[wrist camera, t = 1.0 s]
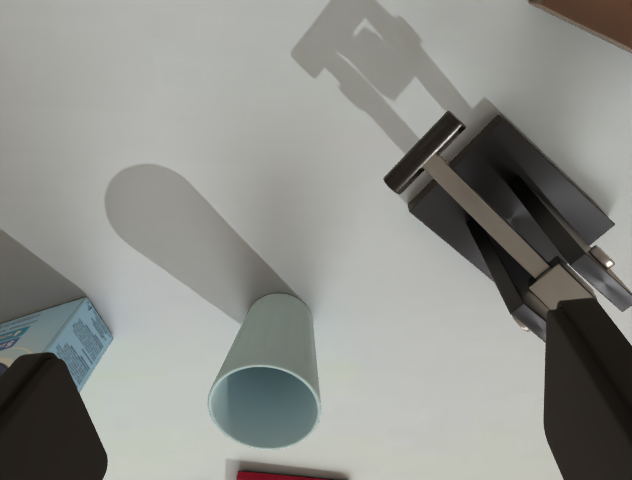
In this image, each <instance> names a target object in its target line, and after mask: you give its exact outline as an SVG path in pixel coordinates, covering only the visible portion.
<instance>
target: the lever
mask: <svg viewBox="0 0 632 480" xmlns="http://www.w3.org/2000/svg"><path fill="white" fill-rule="evenodd" d="M465 128H466V126H465V125H464V124H463V123H462V122H461V121H460V120H459V119H458V118H457V117H456V116H455V115H454V114H453V113H452V112H450V111H447V112H446V113H445V114H444V115H443V116H442V117H441V118H440V119H439V120H438V121H437V123H436V124H435V125H434V126H433V127H432V128H431V129H430V130H429V131H428V132H427V133H426V134H425V135H424V136H423V137H422V138H421V139H420V140H419V141H418V142H417V143H416V145H415V146H414V147H413V148H412V149H411V150H410V151H409V152H408V153H407V154H406V155H405V156H404V157H403V158H402V159H401V160H400V161H399V162H398V163H397V164H396V165H395V167H394V168H393V169H392V170H391V171H390V172H389V173H388V174H387V175H386V176H385V177H384V182H385V183H386V184H387V186H388V187H389V188H390V189H391V190H393V191H394V192H395V193H397V194H401V193H402V192H403V191H404V190H405V189H406V188H407V187H408V186H409V185H410V184H411V183H412V182H413V181H414V180H415V179H416V178H417V177H418V176H419V175H420V174H421V173H422V172H423V171H424V170H425V171H426V172H427V173H429V174H430V175H431V176H432V177H433V178H434V179H435V180H436V181H437V182H438V183H439V184H440V185H441V186H442V187H443V188H444V189H445V190H446V191H447V192H448V193H449V194H450V195H451V196H452V197H453V198H454V199H455V200H456V201H457V202H458V203H459V204H460V205H461V206H462V207H463V208H464V209H465V210H466V211H467V212H468V213H469V214H470V215H471V216H472V217H473V218H474V219H475V220H476V221H477V222H478V223H479V224H480V225H481V226H482V227H483V228H484V229H485V230H486V231H487V232H488V233H489V234H490V235H491V236H492V237H493V238H494V239H495V240H496V241H497V242H498V243H499V244H500V245H501V246H502V247H503V248H504V249H505V250H506V251H507V252H508V253H509V254H510V255H511V256H512V257H513V258H514V259H515V260H516V261H517V262H518V263H519V264H520V265H521V266H522V267H523V268H524V269H525V270H526V271H527V272H528V273H529V274H530V275H531V277H530V278H529V279H528V289H529V290H530V291H531V292H532V293H533V294H534V295H535V296H536V297H537V298H538V299H539V300H540V301H541V302H542V303H543V304H544V305H545V306H546V307H547V308H548V309H549V310H553V309H556V308H557V304H558V302H559V301H561V300H571V299H581V298H595V299H596V300H597V298H596V296H595V294H594V292H593V289H592V288H591V287H590V286H589V285H588V284H587V283H586V282H585V281H584V280H582V279H581V278H580V277H579V276H578V275H577V274H576V273H575V272H574V271H573V270H572V269H571V268H570V267H569V266H568V265H567V264H566V263H565V262H564V261H563V260H562V259H561V258H560V257H559V256H556V257H554V258H553V259H552V260H551V261H550V262H548V261H547V260H546V259H545V258H544V257H543V256H542V255H541V254H540V253H539V252H538V251H537V250H536V249H535V248H534V247H533V246H532V245H531V244H530V243H529V242H528V241H527V240H526V239H525V238H524V237H523V236H522V235H521V234H520V233H519V232H518V231H517V230H516V229H515V228H514V227H512V226H511V225H510V224H509V223H508V222H507V221H506V220H505V219H504V218H503V217H502V216H501V215H500V214H499V213H498V212H497V211H496V210H495V209H494V208H493V207H492V206H491V205H490V204H489V203H488V202H487V201H486V200H485V199H484V198H483V197H482V196H481V195H480V194H479V193H478V192H477V191H476V190H475V189H474V188H473V187H472V186H471V185H470V184H469V183H468V182H467V181H466V180H465V179H464V178H463V177H462V176H461V175H459V174H458V173H457V172H456V171H455V170H454V169H453V168H452V167H451V166H450V165H449V164H448V163H447V162H446V161H445V160H444V159H443V158H442V157H441V156H440V154H441V153H442V152H443V151H444V150H445V149H446V148H447V147H448V146H449V145H450V144H451V143H452V142H453V141H454V140H455V139H456V137H457V136H458V135H459V134H460V133H461V132H462V131H463V130H464V129H465Z"/></svg>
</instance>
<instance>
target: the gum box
mask: <svg viewBox="0 0 632 480" xmlns="http://www.w3.org/2000/svg"><path fill="white" fill-rule="evenodd" d="M112 340H113V336H112V335H111V333H110V332H109V330H108V329H107V327H106V326H105V324H104V322H103V321H102V319H101V318H100V316H99V315H98V313H97V312H96V310H95V309H94V307H93V306H92V304H91V302H90V301H89V299H88V298H86V297H85V298H82V299H78V300H75V301H72V302H69V303H65V304H62V305H59V306H56V307H52V308H49V309H46V310H43V311H40V312H36V313H33V314H30V315H27V316H24V317H21V318H18V319H15V320H12V321H9V322H6V323H2V324H0V377H1V376H2V374H3V373H4V372H5V371H6V370H7V369H8V368H9V367H10V365H11V364H12V363H13V362H14V361H15V360H16V359H17V358H18V357H19V356H21V355H24V354H34V353H44V352H51V353H54V354H55V355H56V356H57V357H58V358H59V359H62V360H64V362H65V363H66V365H67V367H68V369H69V372H70V374H71V376H72V378H73V381H74V383H75V385H76V387H77V389H78V392H79V393H80V391H81V390H82V388H83V386H84V385H85V383H86V381H87V380H88V378H89V377H90V375H91V373H92V372H93V370H94V369H95V367H96V365H97V364H98V362H99V361H100V359H101V357H102V356H103V354H104V353H105V351H106V349H107V348H108V346H109V345H110V343H111V342H112Z"/></svg>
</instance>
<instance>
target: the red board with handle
mask: <svg viewBox="0 0 632 480" xmlns="http://www.w3.org/2000/svg"><path fill="white" fill-rule="evenodd" d="M237 480H329V479H318V478H307V477H296V476H286V475H275V474H264V473H253V472H242V471H238V475H237Z"/></svg>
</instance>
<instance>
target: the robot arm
mask: <svg viewBox="0 0 632 480" xmlns="http://www.w3.org/2000/svg"><path fill="white" fill-rule="evenodd" d="M544 430H545V435H546V438H547V441H548V444H549V446H550V449H551V451H552V453H553V456H554V458H555V460H556V463H557V465H558V467H559V470H560V472H561V474H562V477H563V479H564V480H632V346H631V344H630V343H629V342H628V340H627V339H626V338H625V337H624V335H623V334H622V333H621V331H620V330H619V329H618V327H617V326H616V325H615V324H614V322H613V321H612V320H611V318H610V317H609V316H608V314H607V313H606V312H605V311H604V309H603V308H602V307H601V305H600V304H599V303H598V301H597V300H596V299H595V298H581V299H571V300H561V301H559V302H558V304H557V308H556V309H553V310H548V312H547V318H546V353H545V389H544ZM107 463H108V460H107V454H106V452H105V450H104V447H103V445H102V443H101V441H100V438H99V436H98V434H97V432H96V429H95V427H94V425H93V423H92V421H91V418H90V416H89V414H88V412H87V409H86V407H85V405H84V403H83V401H82V398H81V396H80V394H79V392H78V389H77V387H76V385H75V383H74V381H73V378H72V376H71V374H70V372H69V369H68V367H67V365H66V363H65V362H64V360H62V359H59V358H58V357H57V356H56V355H55V354H54V353H51V352H44V353H34V354H24V355H21V356H19V357H18V358H17V359H16V360H15V361H14V362H13V363H12V364H11V365H10V367H9V368H8V369H7V370H6V371H5V372H4V373H3V374H2V376H1V377H0V480H102V479H103V477H104V475H105V473H106V470H107Z"/></svg>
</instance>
